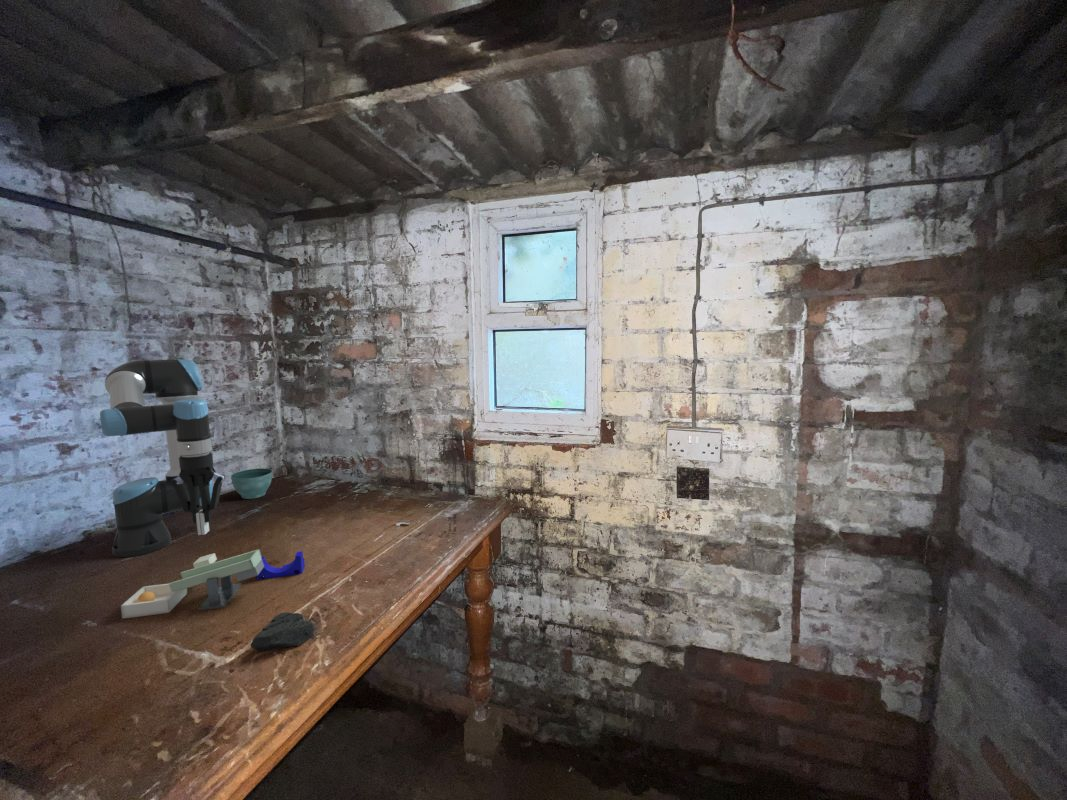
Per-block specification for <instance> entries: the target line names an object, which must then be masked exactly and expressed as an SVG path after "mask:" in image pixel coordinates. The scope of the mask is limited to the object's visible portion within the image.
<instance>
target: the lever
mask: <svg viewBox="0 0 1067 800" xmlns="http://www.w3.org/2000/svg"><path fill="white" fill-rule="evenodd" d="M261 557H263V556H262V552H261V550H260V549H255V550H251V551H248V552H245V553H241V554H239V555H235V556H231V557H229V558H225V559H221V560H218V558H217V556H216V553H210V554H207V555H203V556H199V557H198V559H196V560H195V561H194V562H193V564H192V565H193V567H194V568H191V569H188V570H183V571H181V572H180V576H181V578H182V579H178V580H175V581H172V582H168V584H169V586H170V588H171V591H172V592H176V591H179V590H183V589H186V588H187V589H189V588H192V587H195V586H198V585H199V586H200V585H203V584H204V583H205V584H207V582H206V580H207V579H208V578H217V577H218V580H220V579H221V578H222V577H225V576H229V575H231V576H232V575H235V577H236V578H237V581H238V582H241V581H244V580H247V579H250V578H254V577H257V575H258V574H259V573H260V572H261V570H262V569H263V567H264V564H263V561H262V558H261ZM217 560H218V561H217Z"/></svg>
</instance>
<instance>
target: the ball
mask: <svg viewBox="0 0 1067 800" xmlns="http://www.w3.org/2000/svg"><path fill="white" fill-rule="evenodd" d="M154 599H155V595H154V593H153V592H144V593H142V594H141V595H140V596H139V597H138V600H137V601H138V603H140V602H148V601H154Z"/></svg>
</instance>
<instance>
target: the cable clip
mask: <svg viewBox="0 0 1067 800" xmlns="http://www.w3.org/2000/svg"><path fill="white" fill-rule="evenodd" d="M303 556H304V553H303V550H302V551H297V552H296V553H295V556H294V560H292V561H291V562H289V563H287V564H284V565H282V567H274V566H272V565H270V564H269V563H268V562H267V561H266V559H265V558H266V557H265V556H262V557H261V558H262V561H263V564H264V567H263V569H262V570H261V572H260V573H259V574H258V575H257V576H256V580H257V581H259V580H260V579H261V580H268V579H273V578H280V577H288V576H295V575H301V574H303V571H304V569H305V567H306V566H305V558H304V557H303ZM263 576H264V577H263ZM267 578H268V579H267Z"/></svg>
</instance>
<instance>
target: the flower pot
mask: <svg viewBox="0 0 1067 800" xmlns="http://www.w3.org/2000/svg"><path fill="white" fill-rule="evenodd" d="M272 478H273V470H272V469H270V468H263V467H262V468H252V469H250V468H249V469H244V470H241V471H238V472H235V473H233V474H231V475H230V479H231V483H232V487H233V488H234V490H235V491H236V493H238V494H239V495H240V497H241V498H242V499H245V500H250V499H258V498H262V497H263V496H265V495H266V493H267V490H268V489H269V488H270V485H271V484H272V480H273V479H272Z"/></svg>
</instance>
